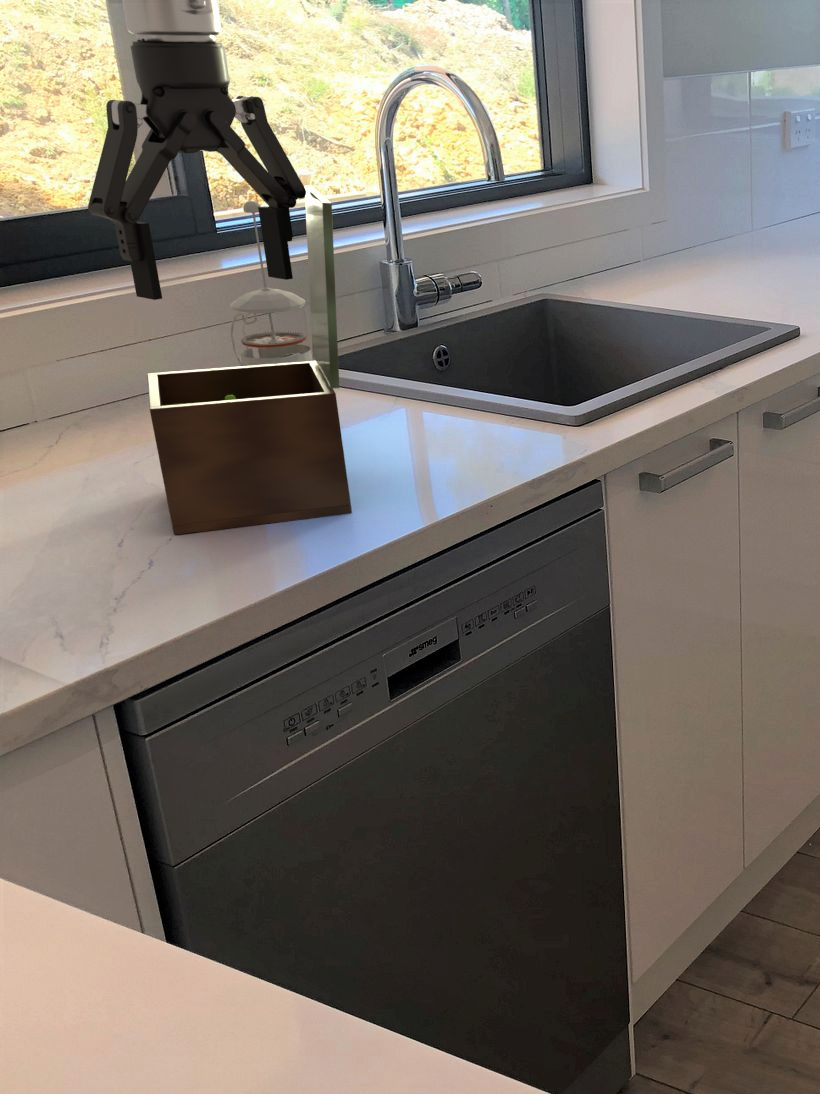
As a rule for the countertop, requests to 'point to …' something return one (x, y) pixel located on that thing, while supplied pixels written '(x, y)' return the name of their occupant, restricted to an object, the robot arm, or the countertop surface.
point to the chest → (248, 445)
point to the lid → (322, 284)
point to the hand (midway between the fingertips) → (217, 287)
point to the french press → (270, 301)
